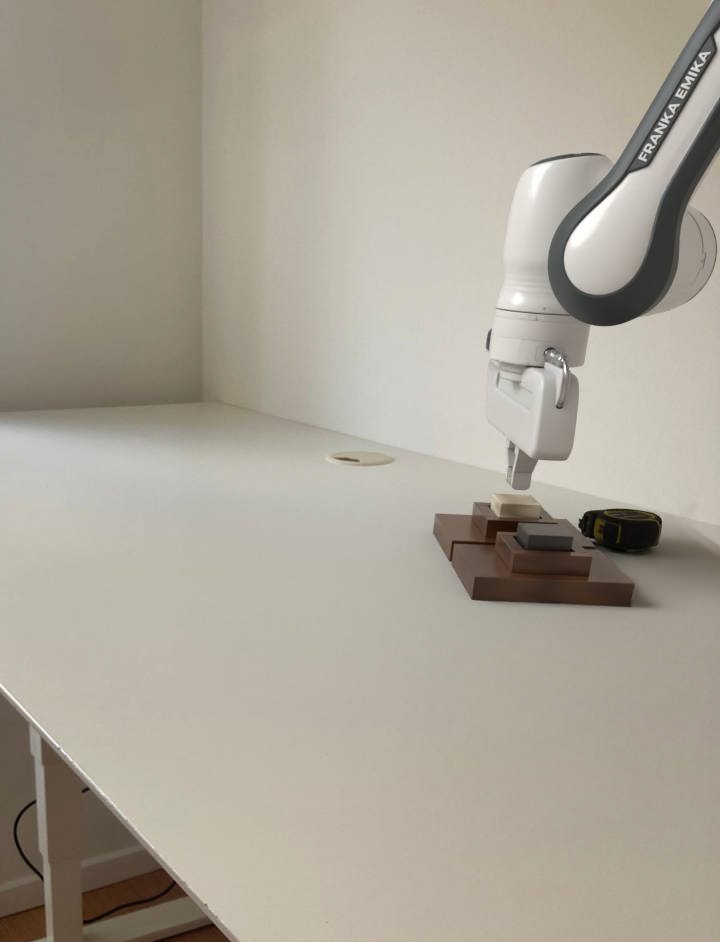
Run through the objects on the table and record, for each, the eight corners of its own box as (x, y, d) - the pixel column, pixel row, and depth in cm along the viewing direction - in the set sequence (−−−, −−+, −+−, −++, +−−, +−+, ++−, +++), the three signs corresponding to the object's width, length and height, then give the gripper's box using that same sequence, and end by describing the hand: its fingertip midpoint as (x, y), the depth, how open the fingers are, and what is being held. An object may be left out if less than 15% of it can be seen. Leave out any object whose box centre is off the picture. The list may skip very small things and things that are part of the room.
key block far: (563, 538, 109) (569, 502, 108) (592, 568, 100) (599, 528, 99) (432, 533, 109) (436, 496, 108) (449, 561, 100) (454, 522, 99)
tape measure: (627, 536, 111) (634, 502, 110) (671, 555, 105) (678, 519, 104) (574, 540, 109) (580, 506, 108) (616, 559, 103) (623, 523, 102)
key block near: (595, 571, 99) (602, 531, 98) (630, 607, 90) (639, 563, 88) (451, 565, 99) (456, 525, 98) (471, 600, 90) (477, 556, 88)
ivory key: (528, 511, 105) (531, 494, 105) (538, 522, 101) (541, 504, 101) (489, 509, 105) (492, 493, 105) (498, 520, 101) (501, 503, 101)
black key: (558, 542, 95) (561, 524, 94) (570, 555, 91) (573, 536, 91) (515, 540, 95) (518, 522, 94) (525, 553, 91) (528, 534, 91)
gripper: (606, 358, 87) (579, 515, 93) (543, 334, 106) (523, 465, 111) (533, 354, 87) (509, 512, 93) (482, 331, 106) (465, 463, 111)
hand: (516, 486), depth 102 cm, fingers closed
